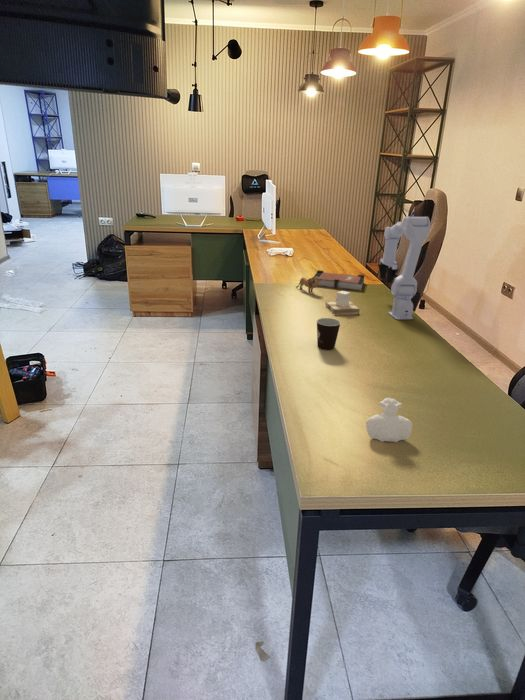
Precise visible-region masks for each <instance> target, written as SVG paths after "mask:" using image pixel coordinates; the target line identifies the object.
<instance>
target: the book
mask: <svg viewBox="0 0 525 700" xmlns="http://www.w3.org/2000/svg"><path fill="white" fill-rule="evenodd" d="M315 276H317V277H318V278H319V280H320V281H321V282H320V284H319V285H318V286H317V287H322V286H325V287H324V288H331V287H334V288H333V289H340V288H342V289H341V290H349V289H351V291H358V290H359V291H360V292H362V289H363V286H364V282H365V274H358V275H352V274H342V273H341V274H340V273H333V272H332V273H331V272H324V270H320V269H318V270H317V271H316V273H315V275H314V276H313V277H315Z"/></svg>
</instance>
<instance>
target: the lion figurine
mask: <svg viewBox="0 0 525 700" xmlns="http://www.w3.org/2000/svg"><path fill="white" fill-rule="evenodd" d="M314 276H315V275H314ZM314 276H312V277H310V278H308V279H307V278H306V277H304V276H303V277H301V278H300V279H299V283H298V285H297V286H295V288H299V291H300V290H302V291H303V289H301V288H303V286H305V287H306V288H307V289H308V291H307V292H308V294H309V293H311V292H313V293H314V291H313V289H316V287H319V286H318V285H319V284H320V282H321V281H320V280H319V278H318V277H317V276H315V277H314Z"/></svg>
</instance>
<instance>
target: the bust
mask: <svg viewBox="0 0 525 700" xmlns="http://www.w3.org/2000/svg"><path fill="white" fill-rule="evenodd" d="M402 405H403V403H401V402H400V401H397V400H396V399H395V398H392V397H385V398H384V399H383V400H381V401H379V406H381V407H380V409H381V410H383V412H382V413H381V414H373V415H372V416H370V417H369V418H368V419H367V420H366V421H365V425H366V427H365V428H366V432H367V435H368V437H369V438H372V439H375V440H378V441H380V442H390V443H391V442H392V443H397V442H399V441H404V440H407V439H408V438H409V437H410V435H411V434H412V431H413V422H412V421H411V420H410V419H408V418H407V417H404V416H402V415H397V414H396V413H398V412H399V409H401V406H402Z"/></svg>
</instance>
